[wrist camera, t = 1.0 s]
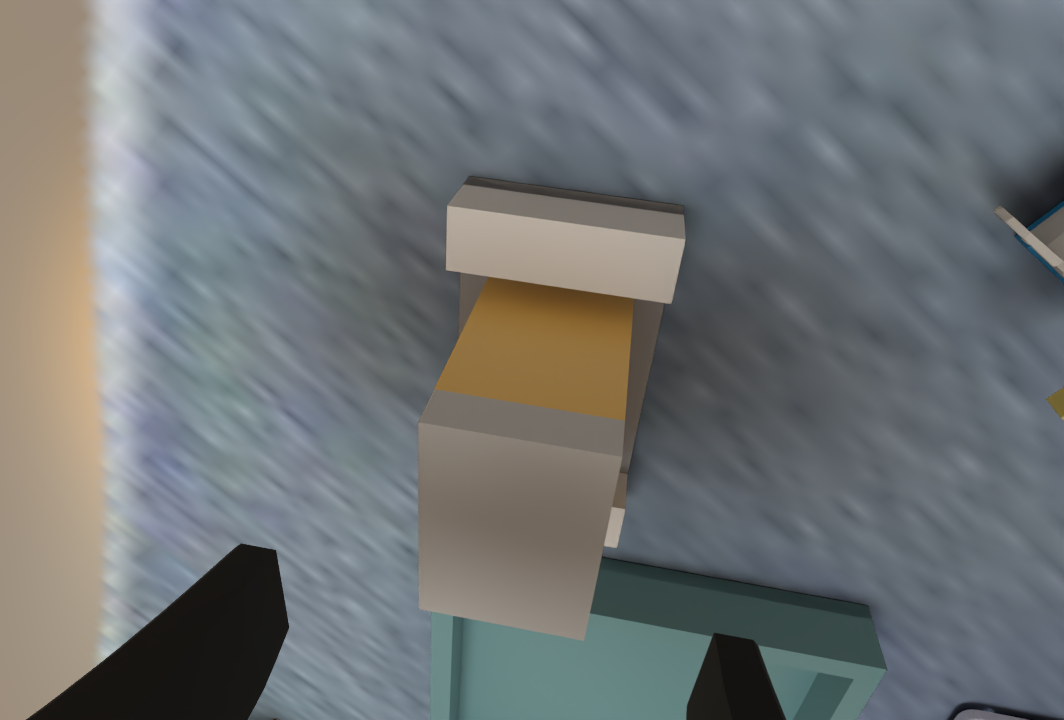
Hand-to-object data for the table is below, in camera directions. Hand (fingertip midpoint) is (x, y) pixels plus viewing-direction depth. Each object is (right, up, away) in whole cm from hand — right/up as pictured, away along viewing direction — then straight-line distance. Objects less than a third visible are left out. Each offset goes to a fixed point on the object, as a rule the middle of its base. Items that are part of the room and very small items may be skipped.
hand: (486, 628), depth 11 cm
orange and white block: (+1, +4, +7) cm, 8 cm away
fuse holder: (+1, +5, +7) cm, 8 cm away
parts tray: (+4, -8, +14) cm, 17 cm away
